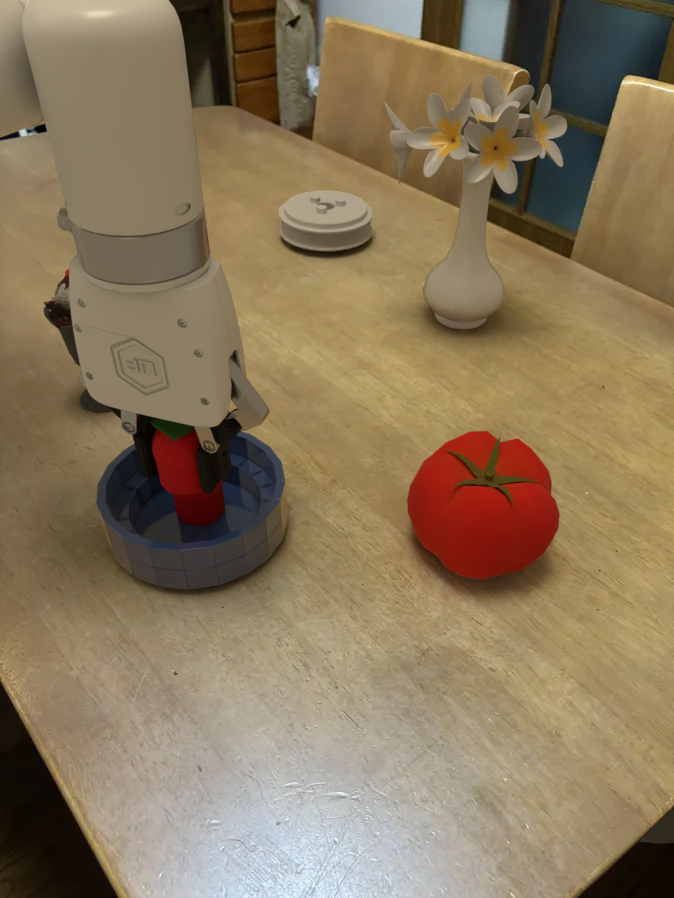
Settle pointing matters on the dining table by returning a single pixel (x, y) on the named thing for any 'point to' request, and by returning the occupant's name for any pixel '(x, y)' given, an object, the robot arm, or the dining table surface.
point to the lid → (325, 220)
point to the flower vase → (476, 184)
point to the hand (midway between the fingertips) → (186, 472)
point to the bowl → (186, 546)
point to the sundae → (68, 333)
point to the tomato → (483, 505)
